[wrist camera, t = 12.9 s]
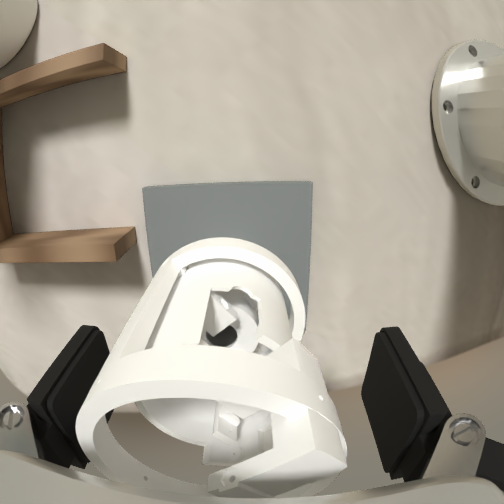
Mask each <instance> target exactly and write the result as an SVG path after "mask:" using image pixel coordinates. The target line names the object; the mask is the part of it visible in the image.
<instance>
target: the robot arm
mask: <svg viewBox="0 0 504 504" xmlns="http://www.w3.org/2000/svg"><path fill="white" fill-rule="evenodd" d="M432 116H433V124H434V130H435V134H436V138H437V142H438V146H439V148H440V151H441V153H442V156H443V158H444V161H445V163H446V165H447V167H448V168H449V170H450V172H451V174H452V176H453V177H454V178H455V179H456V181H457V182H458V183H459V185H460V186H461V187H462V188H463V189H464V190H465V191H466V192H467V193H469V194H470V195H471V196H473V197H474V198H476V199H478V200H480V201H482V202H485V203H488V204H491V205H497V206H504V49H503V48H501V47H500V46H498V45H496V44H495V43H492V42H489V41H486V40H470V41H466V42H463V43H460V44H458V45H456V46H454V47H453V48H451V49H450V50H449V51H448V52H447V53H446V54H445V55H444V57H443V59H442V60H441V62H440V63H439V65H438V68H437V71H436V74H435V77H434V83H433V89H432ZM109 354H110V352H109V349H108V346H107V343H106V340H105V336H104V334H103V332H102V331H100V330H99V328H98V327H96V326H88V325H82V326H81V327H80V328H79V329H78V331H77V332H76V333H75V335H74V336H73V337H72V338H71V340H70V341H69V342H68V344H67V345H66V346H65V347H64V349H63V350H62V351H61V353H60V354H59V355H58V357H57V358H56V359H55V361H54V362H53V363H52V365H51V366H50V367H49V369H48V370H47V371H46V373H45V374H44V376H43V377H42V378H41V380H40V381H39V383H38V384H37V385H36V387H35V388H34V390H33V391H32V392H31V394H30V395H29V397H28V398H27V401H28V402H29V404H28V405H27V407H26V406H25V405H24V404H22V403H20V402H9V403H7V404H5V405H3V406H2V407H1V408H0V504H504V444H502V443H499V442H496V441H494V440H491V439H488V438H486V430H485V427H484V425H483V424H482V422H481V421H480V420H479V419H478V418H476V417H475V416H472V415H470V414H465V413H463V414H456V415H454V416H452V415H451V412H450V410H449V409H448V407H447V405H446V403H445V401H444V399H443V398H442V396H441V394H440V393H439V390H438V389H437V387H436V385H435V383H434V382H433V380H432V378H431V376H430V375H429V373H428V371H427V370H426V368H425V366H424V365H423V363H422V362H420V361H419V359H418V358H417V356H416V354H415V353H414V351H413V349H412V348H411V346H410V344H409V343H408V341H407V340H406V338H405V336H404V335H403V333H402V331H401V330H400V328H399V327H387V328H382V329H381V330H380V332H378V333H376V334H375V338H374V343H373V347H372V351H371V355H370V359H369V363H368V367H367V371H366V375H365V379H364V382H363V386H362V391H361V395H362V400H363V403H364V406H365V409H366V412H367V415H368V418H369V422H370V425H371V428H372V431H373V435H374V438H375V441H376V444H377V448H378V451H379V455H380V458H381V462H382V465H383V469H384V471H385V472H386V473H388V472H389V473H390V477H391V479H392V480H393V479H397V478H402V477H403V479H404V483H398V484H394V485H389V486H384V487H378V488H373V489H367V490H361V491H354V492H346V493H339V494H331V495H322V496H311V497H296V498H266V499H255V498H224V497H209V496H198V495H189V494H181V493H173V492H166V491H160V490H154V489H148V488H143V487H138V486H133V485H128V484H124V483H119V482H115V481H111V480H107V479H103V478H99V477H96V476H92V475H88V474H85V473H82V472H79V471H75V470H72V469H69V467H70V465H73V466H76V467H79V468H82V469H85V467H86V464H87V462H88V463H89V462H91V461H90V460H89V459H88V458H87V456H86V455H85V453H84V452H83V450H82V448H81V446H80V444H79V442H78V439H77V435H76V419H77V415H78V413H79V411H80V409H81V407H82V405H83V403H84V401H85V399H86V397H87V395H88V393H89V391H90V389H91V387H92V385H93V383H94V381H95V380H96V378H97V376H98V375H99V373H100V371H101V369H102V367H103V365H104V363H105V361H106V360H107V358H108V356H109ZM113 410H114V409H112V410H110V411H109V412H107V413H106V414H105V417H106V422H107V424H108V421H109V419H110V417H111V415H112V412H113Z"/></svg>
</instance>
